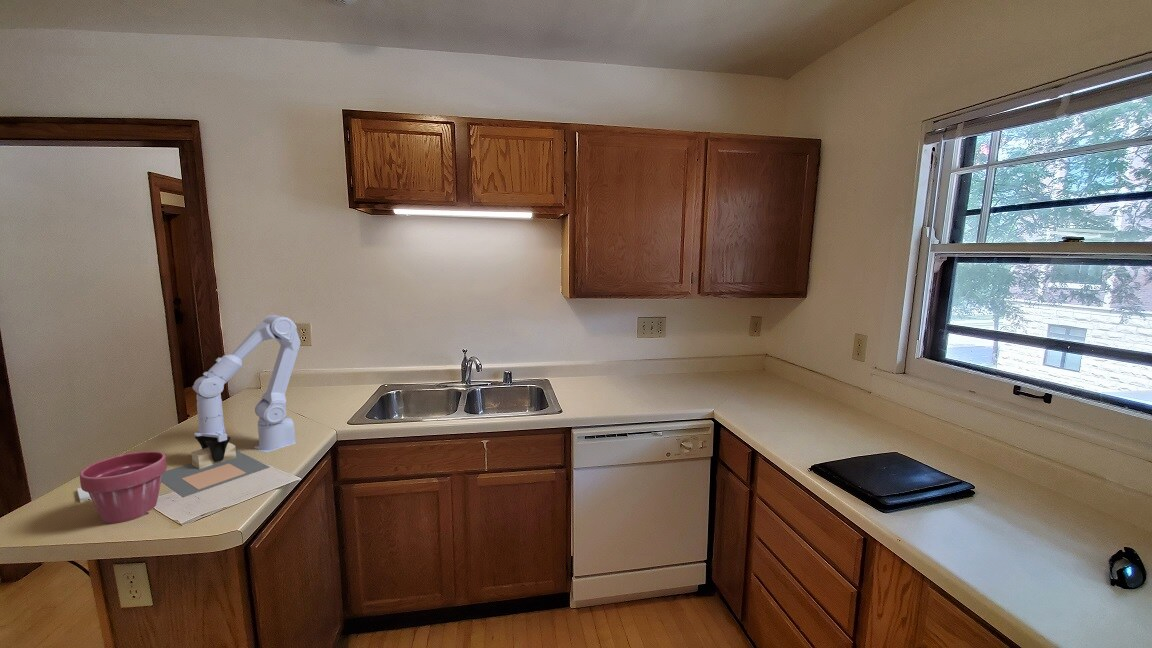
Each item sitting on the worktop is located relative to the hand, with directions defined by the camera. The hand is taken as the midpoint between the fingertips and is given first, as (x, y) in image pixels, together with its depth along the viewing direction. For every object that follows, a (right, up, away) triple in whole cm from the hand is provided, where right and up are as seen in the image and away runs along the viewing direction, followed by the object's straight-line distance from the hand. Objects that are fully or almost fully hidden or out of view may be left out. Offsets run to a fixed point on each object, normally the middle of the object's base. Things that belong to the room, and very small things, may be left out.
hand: (214, 458), depth 129 cm
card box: (0, -1, 0) cm, 1 cm away
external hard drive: (-14, -4, -15) cm, 21 cm away
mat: (+5, -2, -6) cm, 8 cm away
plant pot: (+2, -5, -26) cm, 27 cm away
